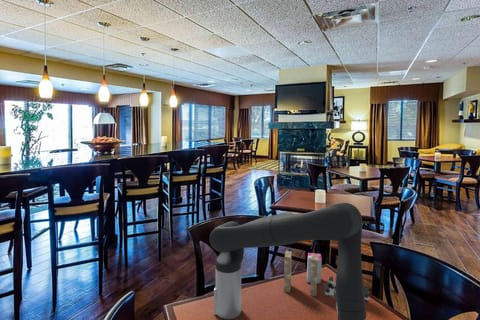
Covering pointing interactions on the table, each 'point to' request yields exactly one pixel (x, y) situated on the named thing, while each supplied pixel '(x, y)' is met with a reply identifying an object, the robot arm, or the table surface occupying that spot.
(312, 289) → the tile
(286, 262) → the tan flat rectangular block
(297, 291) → the table surface
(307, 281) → the supplement box
